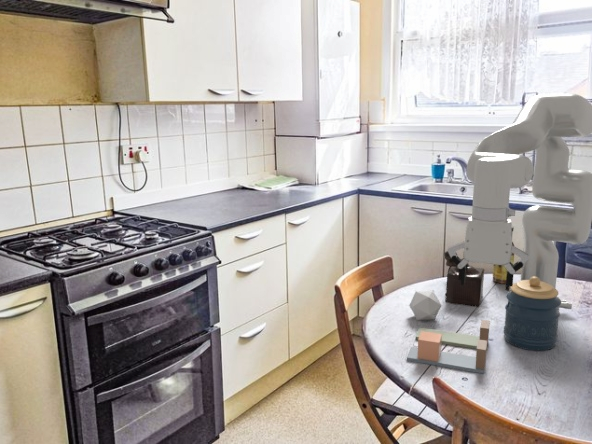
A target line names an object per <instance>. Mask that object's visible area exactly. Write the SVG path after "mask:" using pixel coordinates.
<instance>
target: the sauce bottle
mask: <svg viewBox="0 0 592 444" xmlns="http://www.w3.org/2000/svg"><path fill="white" fill-rule="evenodd" d="M513 232H514V226H513V225H512V233H513ZM512 245H513V246H515V244H514V241H512ZM514 260H515V254H514V253H512V254H511V259H510V261H511V262H512V264H513V265H514ZM492 265H493V266H492V267H493V268H492V281H493V282H495V283H497V284H503V285H506V277H507V271H508V270H507V269H506V268H505V266H504V265H494V264H492Z"/></svg>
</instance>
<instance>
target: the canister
mask: <svg viewBox="0 0 592 444" xmlns="http://www.w3.org/2000/svg"><path fill="white" fill-rule="evenodd" d="M509 289H510V291H508V292H507V293H506V295H505V296H506V297H505V298H506V299H507V303H506V305H505V307H504V308H505V316H504V326H503V334H504V335H503V336H504V339H505V340H506V341H507V342H508V343H509V344H511V345H513V346H515V347H517V348H521V349H524V350H528V351H547V350H551V349H553V348H555V347H556V343H557V341H558V338H559V337H558V331H559V330H558V328H559V320H560V316H561V312H560V310H559V311H558V307H559V306H560V305H561V300H562V299H560V298H559V291H558V289H556V288H554V287H552V286H551V285H550V284H548V283H545V282H542V281H540V279H539V278H538V277H535V276H533V277H531V278H530V280H521V279H520V280H518V281H517V282H513V286H509Z"/></svg>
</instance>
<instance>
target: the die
mask: <svg viewBox="0 0 592 444" xmlns="http://www.w3.org/2000/svg"><path fill="white" fill-rule="evenodd" d="M408 306H409V308H410V310H411V312H412V313H413V315H414V316H415V318H416V320H418V321H424V320H425V321H426V320H427V321H429V320H433V321H434V320H436V317H437V316H438V314H439V312H440V310H441V307H442V303H441V302H440V300H439V298H438V297H437V296H436V294H435V292H434V290H425V291H424V290H422V291H415V293H414V295H413V297H412V299H411V301H410V304H409V305H408Z"/></svg>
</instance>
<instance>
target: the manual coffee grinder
mask: <svg viewBox="0 0 592 444" xmlns="http://www.w3.org/2000/svg"><path fill="white" fill-rule="evenodd" d="M455 253H456V255H457V256H458V253H457V252H456V251H455ZM443 257H444V260H445V261H446V262H445V266H447V267H448V268H449V267H451V268H450V270H449V272H448V271H447V275H446V288H445V289H446V291H445V294H444V296H445V303H448V304H449V303H450V304H453V305H454V304H455V305H458V306H459V305H460V306H466V307H477V308H479V307H480V306H481V303H482V299H483V295H484V294H483V293H484V292H483V291H484V279H485V268H481V267H475V266H472V265H470V264H469V262H468V263H467V264H466V265H465V266H466V278H465V284H464V285H461V281H460V280H458V276H459V268H458V266H457V265H456V264H455V263H454V262H453V261H452V259H451V257H450V255H449V253H448V250H446V251H445V252H444V253H443Z"/></svg>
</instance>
